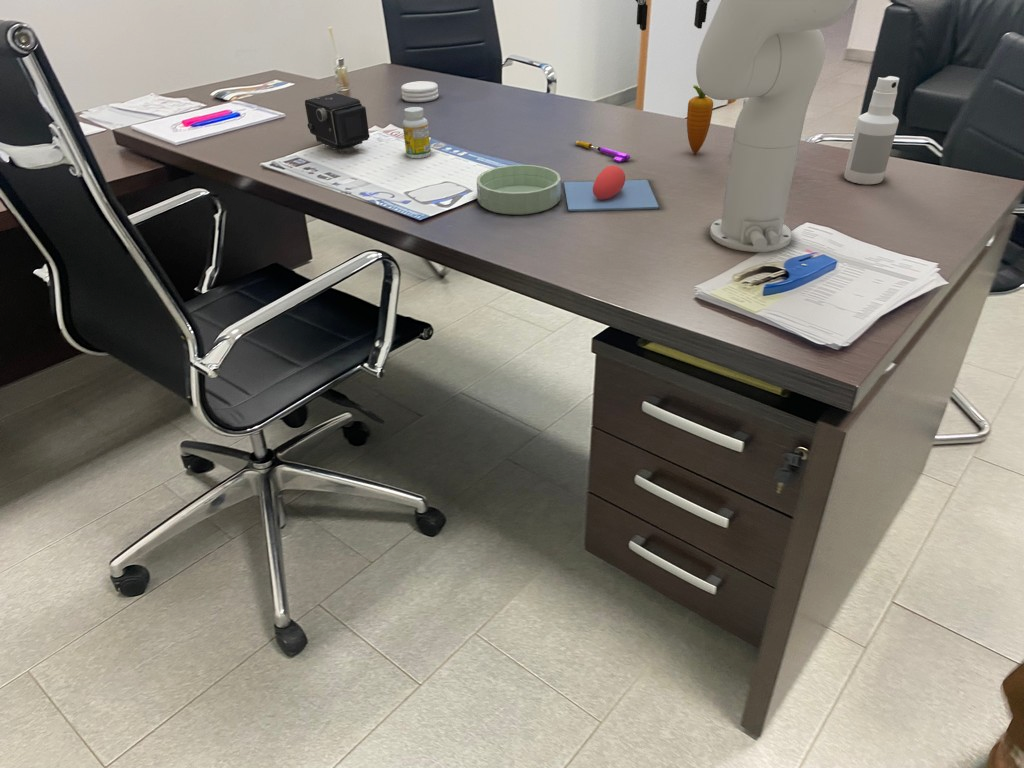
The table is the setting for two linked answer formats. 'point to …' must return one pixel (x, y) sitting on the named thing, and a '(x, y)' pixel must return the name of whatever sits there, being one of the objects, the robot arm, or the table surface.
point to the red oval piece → (609, 182)
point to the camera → (337, 121)
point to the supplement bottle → (416, 133)
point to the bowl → (518, 189)
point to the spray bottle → (874, 135)
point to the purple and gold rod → (606, 151)
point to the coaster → (419, 91)
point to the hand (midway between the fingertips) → (670, 28)
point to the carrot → (698, 119)
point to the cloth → (627, 198)
